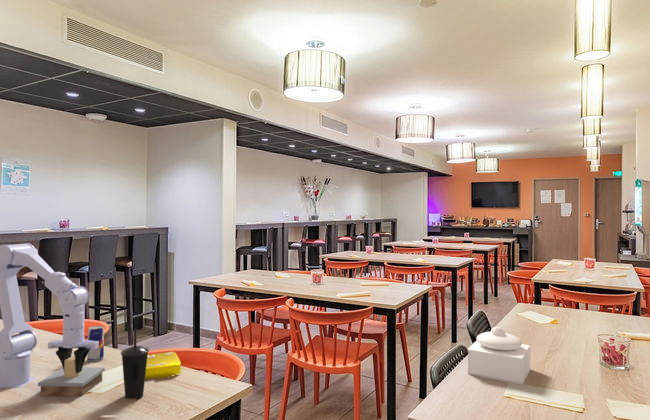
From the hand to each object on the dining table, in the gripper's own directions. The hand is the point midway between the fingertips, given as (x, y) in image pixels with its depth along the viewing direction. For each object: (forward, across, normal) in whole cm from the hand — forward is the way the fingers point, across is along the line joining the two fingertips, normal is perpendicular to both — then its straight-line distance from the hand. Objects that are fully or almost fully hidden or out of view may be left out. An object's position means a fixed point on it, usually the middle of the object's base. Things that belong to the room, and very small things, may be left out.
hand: (73, 371), depth 135 cm
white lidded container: (+6, +139, +19) cm, 140 cm away
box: (+5, 0, 0) cm, 5 cm away
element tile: (+6, +19, +16) cm, 26 cm away
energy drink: (+6, -7, +27) cm, 28 cm away
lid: (+2, 0, 0) cm, 2 cm away
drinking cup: (+6, +21, -5) cm, 22 cm away
